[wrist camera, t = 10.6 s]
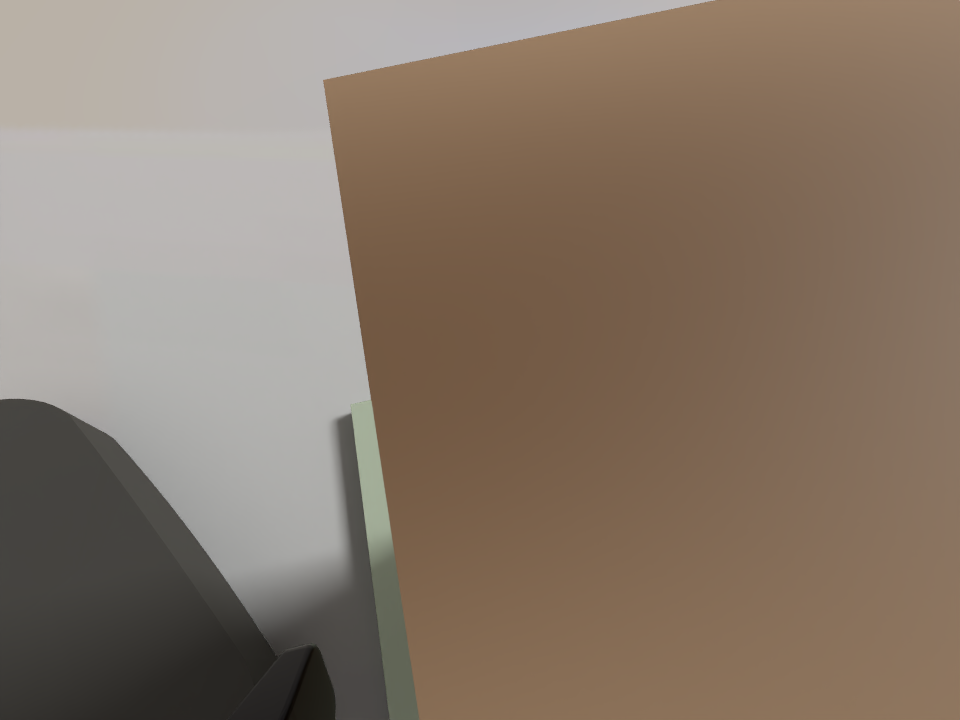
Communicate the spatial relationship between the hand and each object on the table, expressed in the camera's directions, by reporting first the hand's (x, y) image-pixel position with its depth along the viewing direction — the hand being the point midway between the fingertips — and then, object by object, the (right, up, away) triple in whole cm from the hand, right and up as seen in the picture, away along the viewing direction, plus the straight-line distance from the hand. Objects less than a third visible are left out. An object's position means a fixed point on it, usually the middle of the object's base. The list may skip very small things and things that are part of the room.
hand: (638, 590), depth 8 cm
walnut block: (0, -2, +7) cm, 7 cm away
